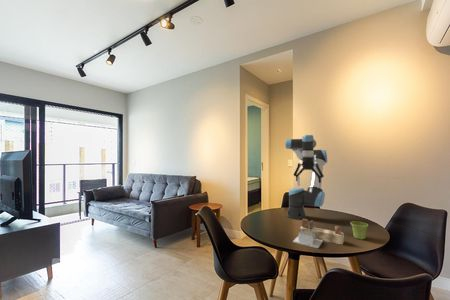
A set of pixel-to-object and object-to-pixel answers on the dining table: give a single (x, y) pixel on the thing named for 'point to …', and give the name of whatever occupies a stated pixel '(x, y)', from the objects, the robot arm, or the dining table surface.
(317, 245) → the rubber mat
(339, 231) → the hand plane
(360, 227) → the plant pot
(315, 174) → the robot arm
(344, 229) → the dining table surface
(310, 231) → the lever cap
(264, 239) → the dining table surface
